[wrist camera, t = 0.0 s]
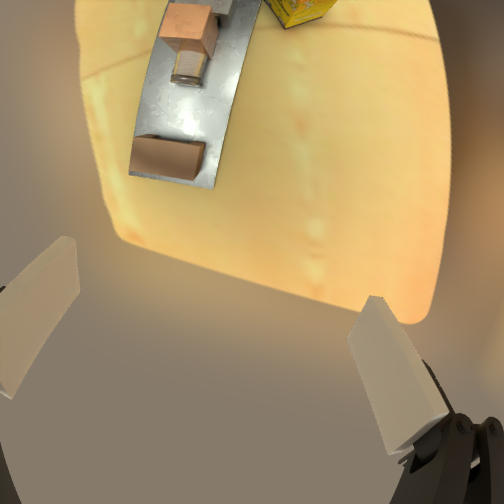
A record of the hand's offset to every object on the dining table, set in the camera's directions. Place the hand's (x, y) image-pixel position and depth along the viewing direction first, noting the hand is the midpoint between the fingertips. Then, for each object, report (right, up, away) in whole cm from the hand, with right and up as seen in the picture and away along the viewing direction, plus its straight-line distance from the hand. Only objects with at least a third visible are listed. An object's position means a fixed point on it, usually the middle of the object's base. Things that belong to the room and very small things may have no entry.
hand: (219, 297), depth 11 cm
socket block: (-9, +15, +22) cm, 28 cm away
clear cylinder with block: (-4, +31, +14) cm, 34 cm away
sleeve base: (-5, +27, +17) cm, 33 cm away
